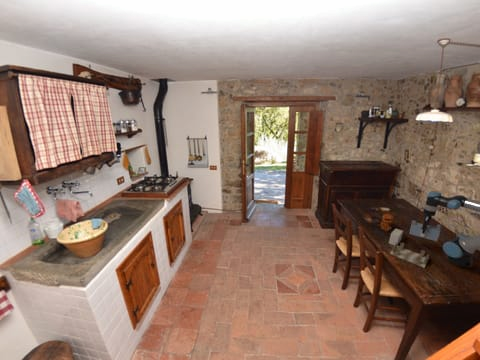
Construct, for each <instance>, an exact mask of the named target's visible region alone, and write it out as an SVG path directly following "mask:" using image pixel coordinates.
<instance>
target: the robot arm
mask: <svg viewBox="0 0 480 360" xmlns="http://www.w3.org/2000/svg"><path fill="white" fill-rule="evenodd" d="M426 196H427V197H426V201H425V204H424V209H423V213H422V214H423V215H425V216H424V218H423V219H424V220H423V223H422V224H423V226H422V228H421V229H422V230H421V234H420V236H422V237H421V238H423V237H424V236H425V233H426V228H427V225H429V226H431V225H430V222H431V219H432V218H433V217H435V216H436V213H437V211H438V206H440V207H443V208H446V209H449V210H453V211H458V210H459V209H460V208H465V209H468V210H471V211H475V212H479V213H480V200H476V199H471V198H468V197H466V196H465V195H460V194H458V195H454V196H451V197H446V196H443V195H442V192H439V191H435V190H430V191H429V192H428V194H427V195H426ZM442 250H443V252H444V254H446V256H445V259H446V260H447V261H448V262H450V263H451V264H453V265H455V266H457V267H460V268H464V269H470V268H473V265H474V262H473V255H474V253H475V252H476V251H478V250H480V234H477V235H473V236H470V235H468V234H465V233H458V234H457V235H455V238H454V239H451V240H449V241H446V242H444V243H443V245H442Z"/></svg>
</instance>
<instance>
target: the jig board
mask: <svg viewBox="0 0 480 360" xmlns="http://www.w3.org/2000/svg"><path fill="white" fill-rule="evenodd" d="M404 247H405V243H404V242H401V241H400V242H399V243H396V244H395V245H392V248H391V251H390V252H389V254H390V255H392V256H393V257H394V256H395V257H396V258H398V259H399V258H400V259H402V260H405V261H407V262H410V263H411V264H413V265H416V266H419V267H421V268H422V269H423V268H424V269H425V268H426V265H427V264H428V261H429V259H430V254H426V255H425V252H426V251H425V250H424V249H423V250H422V249H420V253H417V252H415V251H412V250H409V249H407V248H404Z"/></svg>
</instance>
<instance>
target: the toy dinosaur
mask: <svg viewBox="0 0 480 360" xmlns="http://www.w3.org/2000/svg"><path fill="white" fill-rule="evenodd" d="M381 220H382V221H381V222H380V224H379V227H380V229H381V230H382V229H383V230H382V231H385V232H388V231H390V230H392V226H391V225H392V223H393V222H394V216H393V214H392V213H391V214H390V213H384V214H383V215H382V217H381Z"/></svg>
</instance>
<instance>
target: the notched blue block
mask: <svg viewBox="0 0 480 360" xmlns="http://www.w3.org/2000/svg"><path fill="white" fill-rule="evenodd" d="M429 225H430V224H429ZM429 225H427V228H426V233H425V236H424V237H422V236H420V234H421V230H422V229H421V228H422V226H423V223H419V222H417V221H416V220H413V219H412V221H411V225H410V229H409V234H408V235H412V236H416V237H420V238H423V239H426V240H430V241H434V242H438V241H439V236H440V233H441V227H442V224H437V225H436V226H432V225H430V226H429Z"/></svg>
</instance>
